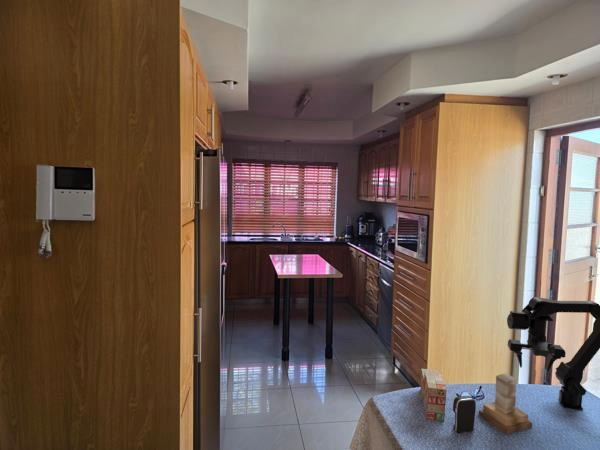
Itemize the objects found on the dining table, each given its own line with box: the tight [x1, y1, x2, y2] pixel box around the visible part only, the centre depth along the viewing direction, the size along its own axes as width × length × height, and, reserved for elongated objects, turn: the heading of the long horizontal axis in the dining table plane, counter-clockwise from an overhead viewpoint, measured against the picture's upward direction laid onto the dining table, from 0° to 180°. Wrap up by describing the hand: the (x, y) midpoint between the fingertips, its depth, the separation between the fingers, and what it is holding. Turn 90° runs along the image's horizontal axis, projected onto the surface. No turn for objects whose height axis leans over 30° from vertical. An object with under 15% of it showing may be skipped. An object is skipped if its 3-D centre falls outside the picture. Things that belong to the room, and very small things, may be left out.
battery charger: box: [452, 395, 477, 433], centre depth 135 cm, size 7×4×11 cm, turn 103°
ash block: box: [494, 372, 517, 414], centre depth 140 cm, size 4×4×12 cm
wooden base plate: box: [478, 408, 533, 435], centre depth 141 cm, size 12×12×2 cm
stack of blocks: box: [420, 368, 447, 422], centre depth 150 cm, size 21×6×12 cm, turn 169°
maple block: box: [482, 401, 529, 427], centre depth 141 cm, size 10×10×2 cm
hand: (533, 369), depth 154 cm, fingers open, 9 cm apart
